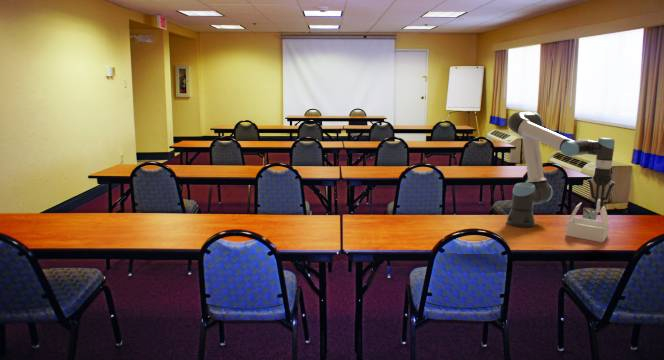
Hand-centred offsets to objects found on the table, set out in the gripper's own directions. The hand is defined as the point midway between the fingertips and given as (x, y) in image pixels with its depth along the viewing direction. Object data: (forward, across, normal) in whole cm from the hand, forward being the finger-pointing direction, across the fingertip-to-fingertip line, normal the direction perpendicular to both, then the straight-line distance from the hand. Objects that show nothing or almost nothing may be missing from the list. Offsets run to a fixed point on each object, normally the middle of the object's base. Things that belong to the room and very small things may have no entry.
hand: (597, 211), depth 269 cm
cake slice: (+14, -6, +20) cm, 25 cm away
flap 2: (+2, +3, 0) cm, 4 cm away
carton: (+14, -4, 0) cm, 15 cm away
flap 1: (+2, -11, 0) cm, 11 cm away
